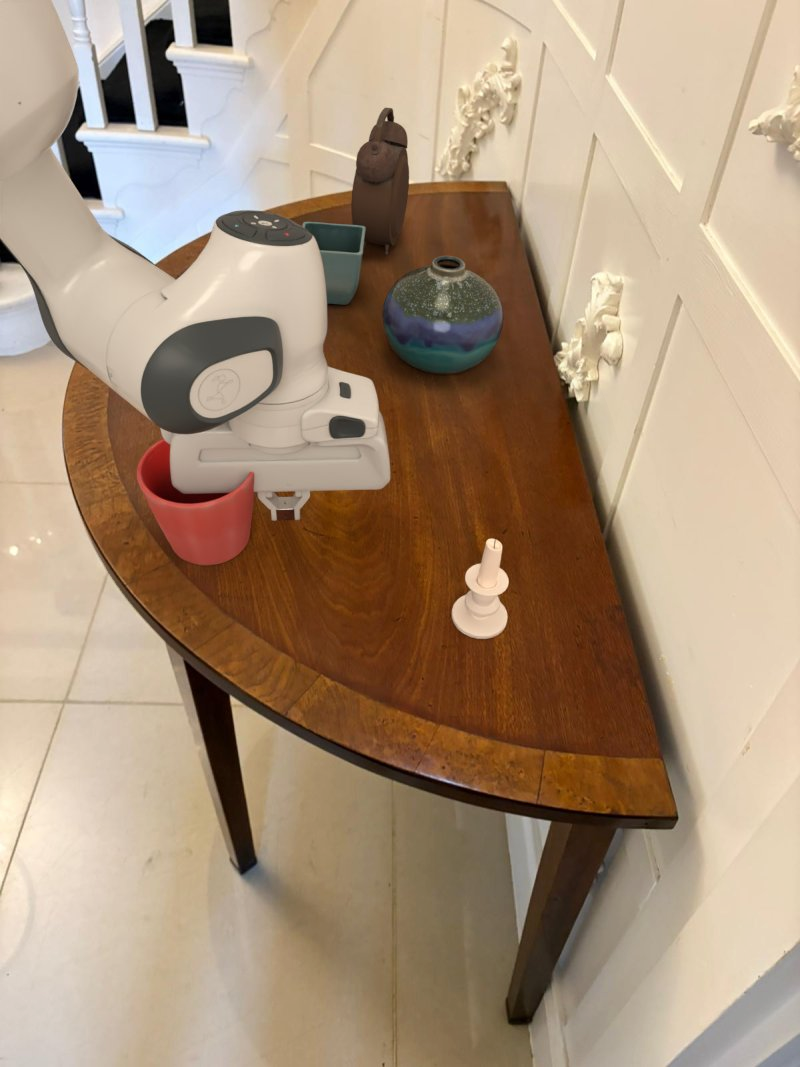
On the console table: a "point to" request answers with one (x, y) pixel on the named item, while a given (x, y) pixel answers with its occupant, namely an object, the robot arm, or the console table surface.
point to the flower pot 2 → (339, 258)
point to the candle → (483, 596)
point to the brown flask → (381, 182)
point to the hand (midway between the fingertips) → (286, 516)
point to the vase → (442, 317)
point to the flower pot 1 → (196, 512)
